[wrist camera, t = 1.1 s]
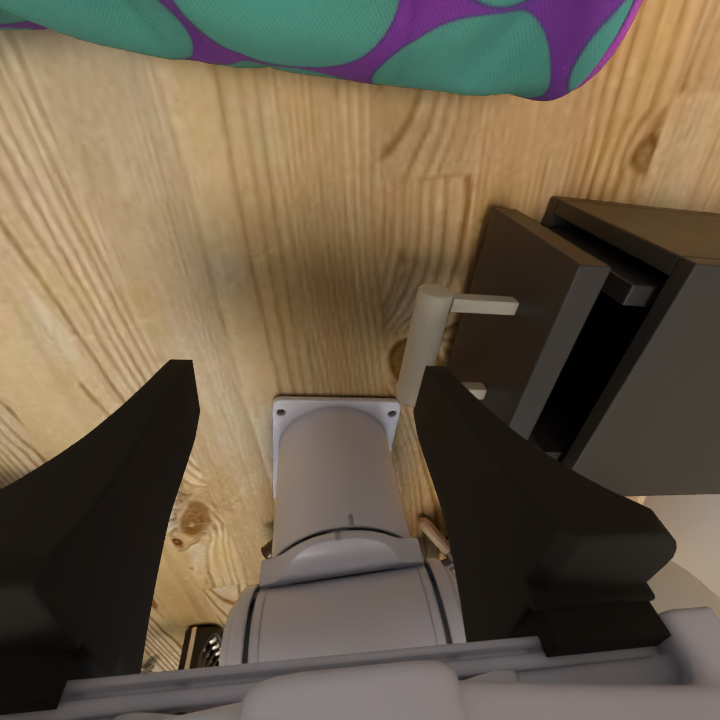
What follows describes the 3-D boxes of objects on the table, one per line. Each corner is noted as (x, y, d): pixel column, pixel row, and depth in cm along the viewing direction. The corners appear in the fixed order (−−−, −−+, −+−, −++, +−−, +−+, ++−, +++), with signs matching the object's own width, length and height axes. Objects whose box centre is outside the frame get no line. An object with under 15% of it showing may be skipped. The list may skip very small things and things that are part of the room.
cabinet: (484, 381, 26) (554, 498, 19) (551, 195, 20) (697, 263, 12) (626, 385, 28) (741, 494, 20) (730, 215, 21) (951, 284, 14)
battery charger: (238, 648, 44) (221, 803, 34) (202, 653, 43) (174, 811, 34) (225, 619, 40) (202, 785, 30) (185, 624, 39) (149, 793, 30)
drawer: (374, 379, 24) (398, 477, 18) (405, 198, 18) (455, 255, 12) (582, 384, 26) (663, 473, 20) (667, 224, 20) (815, 283, 14)
